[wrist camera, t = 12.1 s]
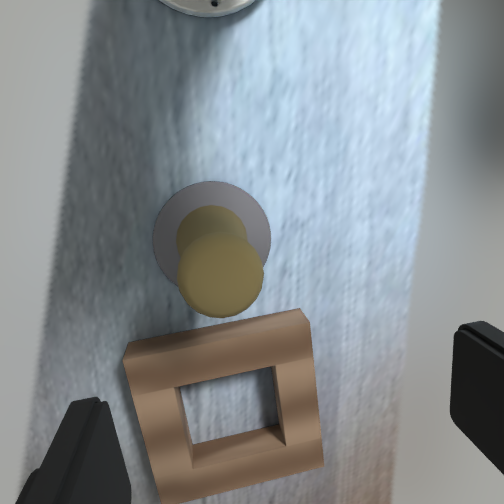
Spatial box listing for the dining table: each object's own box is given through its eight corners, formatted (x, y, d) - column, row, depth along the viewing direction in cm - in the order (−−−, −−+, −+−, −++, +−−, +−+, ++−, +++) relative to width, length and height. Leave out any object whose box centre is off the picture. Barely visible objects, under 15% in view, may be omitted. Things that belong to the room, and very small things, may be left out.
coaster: (141, 191, 29) (140, 191, 29) (261, 173, 30) (263, 173, 30) (166, 303, 32) (166, 306, 31) (275, 282, 33) (277, 285, 33)
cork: (206, 287, 32) (213, 353, 21) (160, 234, 30) (144, 277, 19) (261, 246, 31) (296, 291, 21) (218, 190, 30) (233, 209, 19)
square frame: (128, 342, 32) (122, 360, 29) (299, 308, 34) (309, 322, 31) (164, 480, 37) (162, 507, 34) (314, 443, 39) (324, 466, 36)
